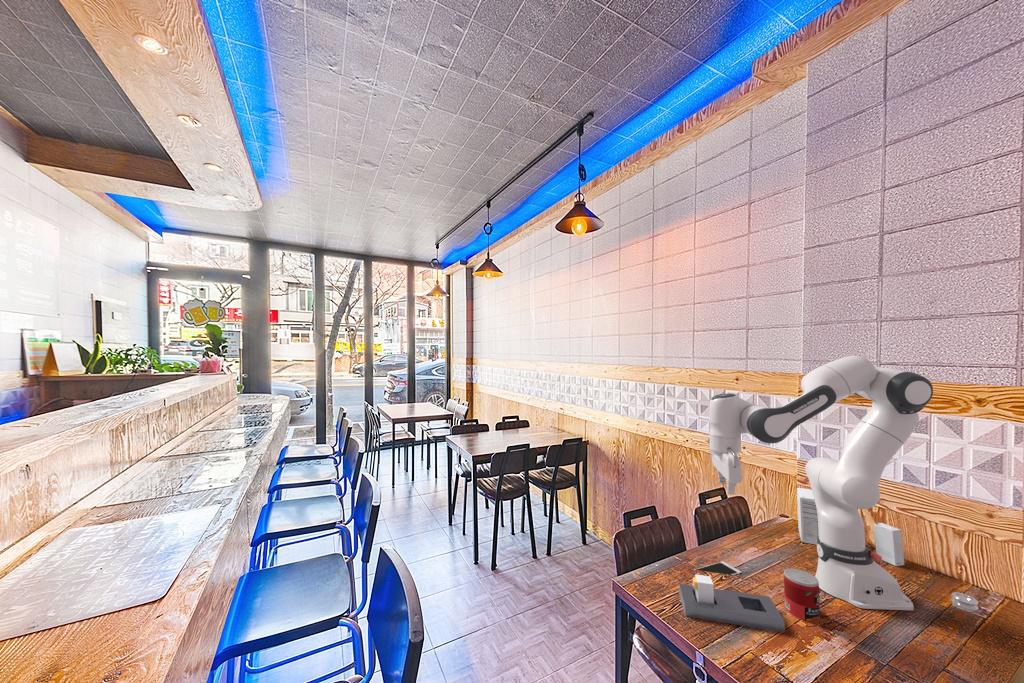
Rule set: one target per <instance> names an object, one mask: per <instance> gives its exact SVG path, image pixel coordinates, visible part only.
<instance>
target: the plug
mask: <svg viewBox="0 0 1024 683" xmlns="http://www.w3.org/2000/svg"><path fill="white" fill-rule="evenodd" d="M692 586H694V589H695V591H696V602H702V603H709V604H714V589H715V587H714V586H715V585H714V582H713V580H712V578H711V576H710V575H709V576H708V575H702V574H696V573H695V574H694V577H692Z"/></svg>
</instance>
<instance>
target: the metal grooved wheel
mask: <svg viewBox="0 0 1024 683" xmlns="http://www.w3.org/2000/svg"><path fill="white" fill-rule="evenodd" d="M950 595H951V604H952V605H953V606H955V607H956V608H957V609H960V610H962V611H964V612H965V611H966V612H969V613H974V614H975V613H979V612H980V608H979V607H978V606H979V601H978V600H977V599H976V598H974V597H972V596H971V595H968V594H965V593H962V592H959V591H958V592H955V591H954V592H952V593H951V594H950Z"/></svg>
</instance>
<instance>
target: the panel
mask: <svg viewBox="0 0 1024 683" xmlns="http://www.w3.org/2000/svg"><path fill="white" fill-rule="evenodd" d="M678 589H679V590H678V594H679V598H680V602H681V605H682V609H683V614H684V616H685V617H689V618H695V619H701V620H708V621H714V622H720V623H725V624H726V623H727V624H733V625H739V626H745V627H751V628H758V629H763V630H768V631H775V632H781V633H785V632H786V628H785V627H786V626H785V618H784V617H783V615H782V614H781V613H780V611H779V610H778V609H779V608H777V606H776V605H775V603H774V602H773V600H772V599H771V596H768V595H761V594H753V593H747V592H740V591H734V590H733V591H732V590H726V589H718V588H714V604H709V603H702V602H696V591H695V589H694V586H693V584H692V585H691V584H684V583H679V584H678Z"/></svg>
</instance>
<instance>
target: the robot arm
mask: <svg viewBox="0 0 1024 683" xmlns="http://www.w3.org/2000/svg"><path fill="white" fill-rule="evenodd" d="M800 388H801V391H802V394H801V395H799V396H797V397H796V398H794V399H792V400H790V401H788V402H787V403H785V404H782V406H778V407H765V406H762V405H759V404H756V403H752V402H750V401H747V400H746V399H743V398H741V397H740V396H738V395H737V394H735V393H729V392H728V393H720V394H716V395H713V396H712V397H711V398H710V400H709V406H708V423H709V427H710V428H709V434H708V435H709V437H708V440H707V441H708V442H707V443H708V445H709V450H710V458H711V462H712V466H713V467H714V468H715V469H716V472H717V477H718V482H719V484H721V485H726V484H727V486H726V491H727V494H728V495H735V493H736V491H735V490H736V486H737V484H741V483H742V481H743V474H742V463H741V459H740V457H739V456H738V454H739V453H741V452H742V434H748V435H749V436H752V437H754V438H755V439H757V440H759V441H760V442H763V443H766V444H777V443H781V442H782V441H783V440H785V439H787V438H788V436H789V435H790V434H791V433H792V431H794V429H796V428H797V427H798V426H799V425H801V424H803V423H805V422H806V421H808V420H810V419H812V418H813V417H815V416H817V415H819V414H820V413H823V411H826V410H828V409H829V408H831V406H833V404H834V405H835V404H836V403H837V402H840V401H842V400H844V399H846V398H848V397H850V396H853V395H856V396H857V397H860V398H863V399H867V400H869V401H872V404H871V408H870V410H869V411H868V412H867V413H866V414H865V415H863V417H862V418H861V420H860V421H859V422H858V423H857V424H856V425H855V426H854V427H853V428H852V430H851V431H850V432H849V433H848V434H847V436H846V437H845V438H844V439H843V449H842V450H843V451H842V453H841V455H840V458H839V460H837V459H834V458H831V457H830V458H829V457H825V456H824V457H822V456H816V457H812V458H811V459H810V460H808V461H807V463H805V466H804V472H805V476H806V477H807V478H808V481H809V484H810V488H811V490H812V493H813V497H814V500H815V504H816V508H817V514H818V531H819V536H818V537H817V545H816V551H817V552H816V553H817V556H818V558H817V567H816V573H815V575H814V576H815V577H816V578H817V579H818V582H819V590H822V591H823V592H825V593H827V594H829V595H831V596H833V597H835V598H837V599H840V600H842V601H844V602H847V603H849V604H851V605H853V606H855V607H857V608H860V609H864V610H865V609H867V610H868V609H869V610H891V611H893V610H894V611H914V610H915V607H914V603H913V601H912V600H911V599H910V598H909V597H908V596H907V595H906V594H904V593H903V592H902V588H901V586H900V584H899V582H898V581H897V579H896V578H895V577H894V576H893V575H892V574H891V573H889V571H887V570H886V568H885V569H884V568H883V567H882V566H881V565H880V564H878V563H879V562H881V561H883V560H882V558H881V556H880V555H879V554H877V553H876V551H873V550H872V549H870V548H869V547H868V546H866V535H865V534H866V533H865V531H866V530H865V529H866V528H865V522H864V519H863V518H862V516H861V514H860V512H859V510H868V509H871V508H874V507H875V506H876V505H878V503H879V501H880V499H881V490H880V481H881V478H882V474H883V473H884V470H885V468H886V466H887V464H888V463H889V462H890V460H891V459H892V458H893V457H894V456H895V455H896V453H897V452H898V451H899V450H900V449H901V448H902V447H903V446H904V444H905V443H906V442H907V441H908V439H909V438H910V437H911V435H912V434H913V432H914V430H915V429H916V428H917V424H918V423H919V420H920V415H919V413H918V412H921V411H922V410H924V409H925V407H926V406H927V405H928V404H929V403H930V401H931V399H932V398H933V394H934V388H933V384H932V382H931V381H930V380H929V379H928V378H927V377H925V376H922V375H920V374H918V373H915V372H911V371H906V370H903V369H897V368H893V367H884V366H883V367H882V366H875V365H874V364H873V363H872V362H871V361H870V360H869V359H868V358H866V357H864V356H860V355H856V354H855V355H854V354H853V355H852V354H851V355H848V356H844V357H840V358H837V359H835V360H832V361H829V362H827V363H825V364H822V365H821V366H818V367H816V368H815V369H812V370H810V371H809V372H808V373H806V374H804V376H803V377H802V378H801V382H800ZM858 509H859V510H858ZM877 562H878V563H877Z"/></svg>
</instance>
